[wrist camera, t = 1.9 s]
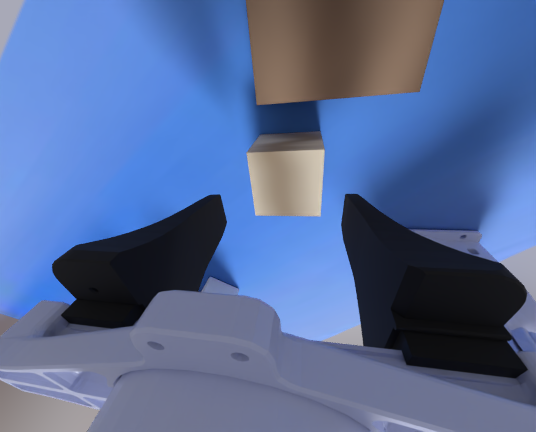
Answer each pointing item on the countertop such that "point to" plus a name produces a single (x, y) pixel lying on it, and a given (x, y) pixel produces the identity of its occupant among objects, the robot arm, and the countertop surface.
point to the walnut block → (339, 47)
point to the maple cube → (287, 174)
